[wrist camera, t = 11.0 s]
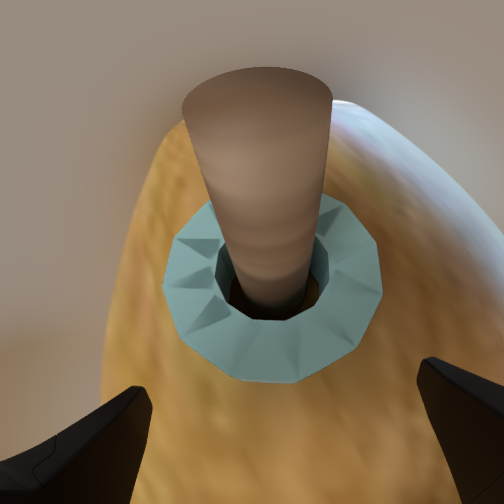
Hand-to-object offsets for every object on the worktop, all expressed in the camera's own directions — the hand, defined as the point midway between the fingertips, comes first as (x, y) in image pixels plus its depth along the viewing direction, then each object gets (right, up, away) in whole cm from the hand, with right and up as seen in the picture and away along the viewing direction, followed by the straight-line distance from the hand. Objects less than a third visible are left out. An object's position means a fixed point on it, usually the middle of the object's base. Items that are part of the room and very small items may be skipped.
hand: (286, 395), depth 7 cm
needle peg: (0, +2, +10) cm, 10 cm away
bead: (0, +2, +10) cm, 10 cm away
